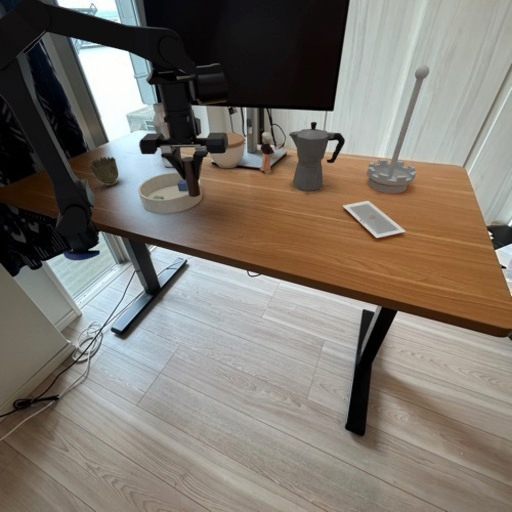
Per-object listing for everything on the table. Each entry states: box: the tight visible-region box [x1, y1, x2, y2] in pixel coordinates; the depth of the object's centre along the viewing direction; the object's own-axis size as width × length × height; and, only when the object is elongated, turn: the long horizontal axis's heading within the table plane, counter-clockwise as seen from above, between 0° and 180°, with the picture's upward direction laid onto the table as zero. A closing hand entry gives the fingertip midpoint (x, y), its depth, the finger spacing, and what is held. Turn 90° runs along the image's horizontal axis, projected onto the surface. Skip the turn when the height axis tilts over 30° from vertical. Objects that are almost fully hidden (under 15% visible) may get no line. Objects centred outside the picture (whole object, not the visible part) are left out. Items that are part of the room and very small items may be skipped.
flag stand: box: [366, 64, 430, 194], centre depth 72 cm, size 13×13×30 cm
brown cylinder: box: [181, 156, 201, 197], centre depth 65 cm, size 3×3×9 cm
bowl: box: [137, 171, 204, 215], centre depth 78 cm, size 17×17×4 cm
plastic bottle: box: [152, 102, 174, 168], centre depth 91 cm, size 6×7×20 cm
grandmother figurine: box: [259, 131, 276, 175], centre depth 87 cm, size 8×4×13 cm, turn 45°
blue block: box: [177, 180, 188, 192], centre depth 82 cm, size 2×2×2 cm
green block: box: [152, 196, 164, 199], centre depth 74 cm, size 2×2×2 cm
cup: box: [88, 156, 119, 188], centre depth 84 cm, size 8×7×8 cm
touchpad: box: [342, 200, 407, 239], centre depth 67 cm, size 8×15×2 cm, turn 16°
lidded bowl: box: [209, 131, 245, 169], centre depth 93 cm, size 13×13×11 cm
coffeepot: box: [288, 121, 346, 192], centre depth 77 cm, size 15×9×18 cm, turn 72°
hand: (191, 179), depth 65 cm, fingers closed on brown cylinder, 3 cm apart
